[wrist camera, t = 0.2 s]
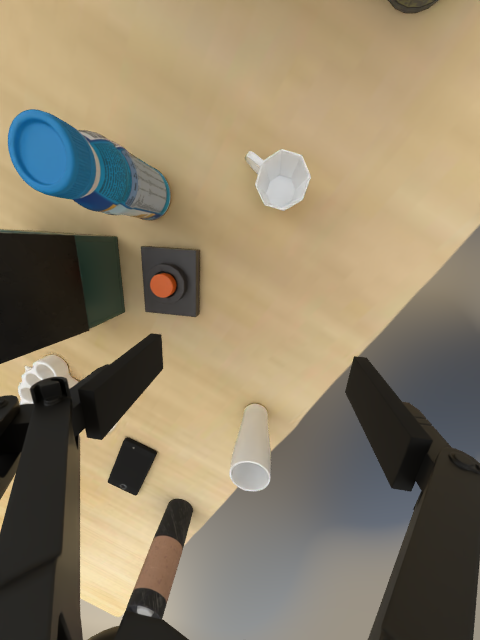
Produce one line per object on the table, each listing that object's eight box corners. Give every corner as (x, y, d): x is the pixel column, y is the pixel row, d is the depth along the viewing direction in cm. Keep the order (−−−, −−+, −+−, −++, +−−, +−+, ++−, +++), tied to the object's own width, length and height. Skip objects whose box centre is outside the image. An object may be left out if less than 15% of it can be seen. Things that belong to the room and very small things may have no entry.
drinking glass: (277, 416, 51) (279, 483, 37) (253, 429, 53) (246, 497, 39) (258, 394, 50) (253, 454, 36) (234, 408, 52) (220, 470, 38)
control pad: (147, 246, 43) (134, 246, 39) (199, 250, 42) (192, 250, 38) (151, 308, 47) (140, 314, 43) (199, 313, 46) (192, 320, 42)
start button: (154, 271, 40) (149, 273, 39) (176, 273, 40) (172, 275, 38) (155, 294, 42) (150, 296, 40) (177, 296, 41) (173, 298, 40)
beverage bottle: (182, 202, 40) (100, 166, 21) (146, 231, 42) (44, 222, 23) (151, 154, 38) (33, 68, 19) (116, 187, 40) (-21, 139, 21)
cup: (281, 226, 39) (284, 222, 31) (235, 184, 38) (226, 170, 30) (312, 188, 36) (323, 174, 29) (264, 143, 35) (261, 116, 28)
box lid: (-81, 390, 22) (-75, 392, 22) (-156, 226, 17) (-150, 226, 17) (85, 329, 38) (89, 330, 38) (69, 234, 33) (74, 235, 33)
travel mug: (173, 493, 63) (131, 600, 45) (198, 506, 64) (167, 617, 45) (163, 509, 66) (120, 615, 47) (187, 521, 66) (154, 631, 48)
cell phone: (109, 479, 65) (107, 482, 64) (126, 436, 59) (123, 439, 58) (138, 492, 65) (136, 496, 64) (157, 451, 59) (156, 454, 58)
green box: (51, 304, 49) (1, 318, 40) (36, 231, 45) (-25, 228, 35) (125, 312, 48) (89, 328, 38) (117, 236, 43) (74, 235, 34)
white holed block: (70, 425, 60) (20, 395, 59) (94, 377, 54) (38, 343, 53) (59, 435, 57) (5, 403, 56) (82, 386, 51) (23, 349, 50)
